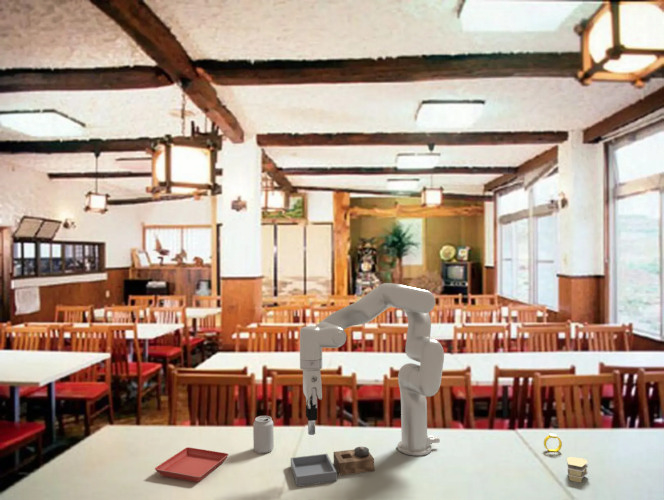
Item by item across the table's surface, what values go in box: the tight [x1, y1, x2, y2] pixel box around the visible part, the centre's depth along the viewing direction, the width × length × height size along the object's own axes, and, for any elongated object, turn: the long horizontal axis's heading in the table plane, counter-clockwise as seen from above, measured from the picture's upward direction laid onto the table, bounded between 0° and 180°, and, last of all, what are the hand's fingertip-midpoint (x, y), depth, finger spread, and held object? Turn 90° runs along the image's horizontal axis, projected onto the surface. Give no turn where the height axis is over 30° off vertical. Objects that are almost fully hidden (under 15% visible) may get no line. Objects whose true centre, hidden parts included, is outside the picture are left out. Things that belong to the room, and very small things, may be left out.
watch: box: [543, 433, 563, 453], centre depth 167 cm, size 6×3×6 cm, turn 88°
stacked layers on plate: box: [566, 456, 589, 483], centre depth 148 cm, size 10×9×6 cm
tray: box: [290, 453, 338, 487], centre depth 153 cm, size 13×14×3 cm
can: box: [252, 415, 275, 454], centre depth 172 cm, size 8×8×12 cm
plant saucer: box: [154, 446, 229, 483], centre depth 158 cm, size 18×18×3 cm
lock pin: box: [307, 420, 316, 436], centre depth 153 cm, size 2×2×10 cm
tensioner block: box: [333, 446, 375, 476], centre depth 157 cm, size 12×9×6 cm
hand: (311, 418), depth 153 cm, fingers closed on lock pin, 2 cm apart
